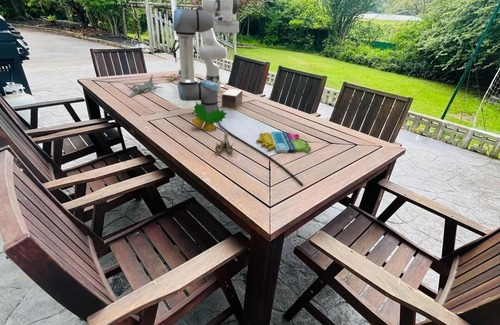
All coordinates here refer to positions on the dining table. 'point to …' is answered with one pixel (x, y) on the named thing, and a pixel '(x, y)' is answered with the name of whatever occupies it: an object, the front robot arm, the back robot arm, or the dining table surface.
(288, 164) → the dining table surface
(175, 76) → the toy
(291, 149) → the multicolored flat piece
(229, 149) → the jawbone
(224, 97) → the brown-grey rectangular block
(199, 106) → the ornament
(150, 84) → the airplane
